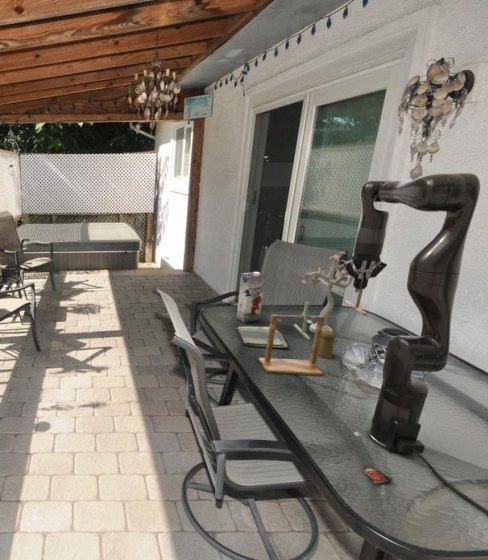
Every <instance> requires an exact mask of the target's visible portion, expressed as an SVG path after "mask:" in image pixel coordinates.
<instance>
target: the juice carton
mask: <svg viewBox="0 0 488 560" xmlns="http://www.w3.org/2000/svg"><path fill="white" fill-rule="evenodd" d="M266 278H267V275H266V274H263V273H261V272H259V271H251V272H241V273H240V283H239V292H238V300H237V310H236V319H237V320H239V321H241V322H242V323H245V324H250V323H255V322H259V321H260V318H261V312H262V305H263V297H264V290H265V283H266V282H265V281H266Z"/></svg>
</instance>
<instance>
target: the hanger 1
mask: <svg viewBox="0 0 488 560" xmlns="http://www.w3.org/2000/svg"><path fill="white" fill-rule="evenodd" d="M309 307H310V302H308V301H305V303H304V308H303V312H302V313H301V316H304V319H303V323H302V328H301V327H299V325H298V324H297V323H293V327H294V328H295V329H296V330H297V331H298V332H299V333H300V334H301V335H302V336H303V337H304V338H305V339H306V340H307V341H310V340H311V337H310V336H309V335H308V334H307V333H306V328H307V324H308V322H307V320H308V319H307V318H308V316H309V315H308V312H309Z"/></svg>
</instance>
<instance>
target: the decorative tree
mask: <svg viewBox="0 0 488 560" xmlns="http://www.w3.org/2000/svg"><path fill="white" fill-rule="evenodd" d="M341 254H344V255H347V253H346V252H343V251H340V252H337V253H335V254H333V255H331V256H330V257H328V262H329V263H330V261H331V259H332V258H334V263H333V264H332V266H331V267H330V270H329V273H328V274H327V275H325V274H324V269H325V271H327V268H326V267H324V266H316V269H317V270H318V271H313V272H311V271H308V272H306V273H305V275H304V278H303V280H302V281H301V282H302V285H304V286H307V284H308V282H307V280H308V279H310V278H311V277H314V278H312V279H311V281H310V282H309V283H310V284H312V283H313V286H312V287H313V288H314V289H316V290H319V288H318V285H317V283H321V284H322V285H323V286H324V287H326V289H325V290H326V291H325V292H326V297H327V304H326V305H325V306H324V308H323V309H322V310H321V311H320V313H319V316H324V317H325V319H324V325H323V330H329V331H332V332H334V331H333V328H332V327H330V326H329V325H328V322H329V317H330V315H331V313H332V311H333V309H334V306H335V301H334V299H333V296H332V295H333V294H332V287H333V286H336V287H338V288H348V287H349V286H350V285H351V284H352V282H353V281H354V277H352V276H350V277H349V279H348V281H346V282H343V280H344V279H345V277H346V274H347V273H348V272H347V270H346V268H345V266H344V265H343V264H340V262H341V261H342V262H347V261H346V260H345V259H341ZM342 268H343V269H342ZM335 272H336V273H337V276H335ZM334 276H335V277H334ZM326 280H327V281H326ZM307 324H309V331H310V332H311V333H313V334H315V331H316V325H317V322H315V323H314V322H313V321H311V319H307ZM323 330H322V331H323Z"/></svg>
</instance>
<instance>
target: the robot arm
mask: <svg viewBox="0 0 488 560" xmlns="http://www.w3.org/2000/svg"><path fill="white" fill-rule="evenodd" d="M480 192H481V181H480V178H479V177H478V175H477V174H475V173H471V172H457V173H456V172H455V173H454V172H453V173H434V174H433V173H432V174H427V175H425V176H421V177H418V178H415V179H411V180H410V179H395V180H393V179H392V180H390V179H389V180H368V181H366V182H364V184H363V185H362V186H361V188H360V190H359V198H360V204H361V219H360V224H359V228H358V230H357V232H356V233H357V234H356V238H355V243H354V248H353V255H352V257H351V258H350V259H349V260H348V261H346V262H344V261H342V265H344V266H345V267H344V268H346V270H345V271H347V272H346V273H347V274H348V275H349V276H350V277H351V276H352V277H354V278H353V283H352V287H354V289H355V288H356V289H360V286H361V282H362V275H365V276H364V280H363V284H362V288H361V289H363V290H365V289H366V288H367V287H368V283H369V280H370V279H373V278H374V279H375V278H376V277H377V276H378V275H379V274H380V273H381V272H382V271H384V269H385V268H387V267H388V264H387V263H385V262H383V261H382V259H381V255H382V254H383V253H382V252H383V250H384V249H383V248H384V245H385V239H386V235H387V227H388V224H389V223H388V222H389V217H390V212H389V211H388V210H386V209H380V208H377V207H376V206H375V203H387V204H391V205H393V204H394V205H405V206H407V207H409V208H412V209H414V210H417V211H421V212H425V213H445V215H444V218H443V222H442V225H441V227H440V229H439V230H438V232H437V233H436V235H435V236H434V237H433V238H432V239H431V240H430V241H429V242H428V243H427V244H426V245H424V247H423V248H422V249H421V250H419V251H418V253H417V254H416V255H415V256H414V257H413V259H412V260H411V262H410V263H409V269H408V274H407V281H406V289H407V292H408V294H409V296H410V298H411V300H412V301H413V303H414V304H415V306H416V308H417V309H418V312H419V313H420V316H421V322H422V323H421V325H422V326H421V333H420V336H417V335H395V336H393V337H391V338H390V340H389V341H388V343H387V346H386V350H385V356H384V361H383V367H382V381H381V386H380V389H379V393H378V398H377V401H376V405H375V408H374V413H373V415H372V419H371V421H370V422H371V423H370V428H369V431H368V437H369V438H370V439H371V441H373V442H374V443H376V444H377V445H378V446H380V447H382V448H384V449H386V451H387V452H392V453H407V454H415V455H416V456H417V457H418V458H419V459H420V460H421V461H422V462H423V463H424V464H425V465H426V466H427V467H428V468H429V470H430V471H431V472H432V474H433V475H434V476H435V477H436V478H437V479H438V480H439V481H441V482H442V484H444V485H445V486H446V487H447V488H449V489H450V490H451V491H452V492H454V493H456V494H457V495H458V496H459V497H461V498H463V499H464V500H465V501H467V502H469V503H470V505H473V506H474V507H475V508H477V509H478V510H480V511H482V512H483V513H484V514H486V515H488V509H487V508H485V507H483V506H482V505H481V504H479V503H477V502H476V501H475V500H473V499H471V498H470V497H469V496H467V495H465V494H464V493H463V492H461V491H460V490H458V489H457V488H456V487H455V486H453V485H451V484H450V483H449V482H448V481H447V480H446V479H445V478H444V477H442V476H441V475H440V473H438V472H437V470H436V469H435V468H434V467H433V465H432V464H431V463H430V462H429V461H428V460H427V459H426V458H425V457H424V456H423V455H422V454H424V450H425V447H426V446H425V444H424V443H422V441H420V440H419V439H418V437H419V435H420V431H421V428H422V425H421V423H420V419H421V416H422V412H423V409H424V406H425V403H426V400H427V397H428V394H429V387H428V386H427V384H426V383H425V382H423V381H422V380H421V379H418V378H417V377H414V376H412V372H427V373H428V372H429V373H434V372H435V373H436V372H440V371H442V370H444V368H445V367H446V366H447V363H448V361H449V356H450V344H451V325H452V323H451V322H452V316H453V310H454V303H455V296H456V293H457V289H458V285H459V280H460V274H461V268H462V267H461V266H462V261H463V256H464V250H465V246H466V241H467V237H468V233H469V230H470V226H471V223H472V220H473V217H474V214H475V211H476V208H477V204H478V202H479V197H480Z"/></svg>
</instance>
